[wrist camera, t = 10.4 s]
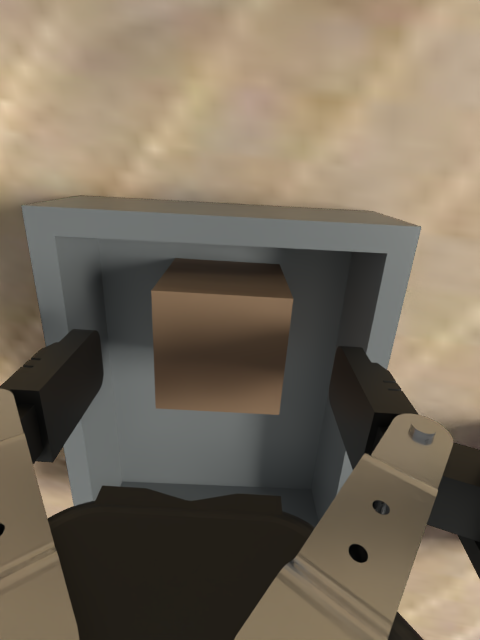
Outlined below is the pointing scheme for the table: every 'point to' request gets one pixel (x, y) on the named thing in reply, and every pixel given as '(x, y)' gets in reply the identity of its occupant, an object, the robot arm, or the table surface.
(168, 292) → the walnut cube
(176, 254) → the gray tote
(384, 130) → the table surface
